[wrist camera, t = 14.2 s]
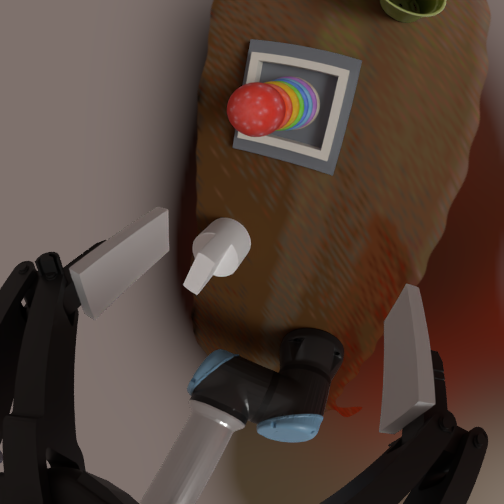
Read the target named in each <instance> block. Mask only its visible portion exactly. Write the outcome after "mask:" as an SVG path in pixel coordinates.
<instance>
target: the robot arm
mask: <svg viewBox="0 0 504 504" xmlns="http://www.w3.org/2000/svg"><path fill="white" fill-rule="evenodd" d="M168 222H169V221H168V209H164V208H161V207H156V208H154V209H153V210H151V211H150V212H148V213H147V214H145V215H144V216H142V217H141V218H139V219H137V220H136V221H134V222H133V223H131V224H130V225H128V226H127V227H125V228H124V229H123V230H121V231H119V232H118V233H116V234H115V235H114V236H112V237H111V238H109V239H108V240H104V241H101V242H99V243H96V244H95V245H93V246H92V247H91V248H89V250H86V251H85V252H84V253H83V254H81V255H80V256H78V257H77V258H76V259H74V260H73V261H72V262H70V263H69V264H68V265H66V266H65V267H64V268H63V267H62V263H61V260H60V257H59V255H58V254H57V253H55V252H48V253H45V254H42V255H41V256H40V257H38V258H37V260H36V261H35V263H36V266H37V269H38V271H37V270H36V269H35V266H34V264H33V262H31V261H24V262H22V263H20V264H18V265H17V266H16V267H15V268H14V270H13V271H12V273H11V274H10V276H9V277H8V278H7V280H6V281H5V283H4V284H3V286H2V287H1V289H0V443H1V441H2V438H3V454H2V452H1V451H0V463H1V462H2V461H3V464H4V472H0V504H196V502H197V500H198V498H199V496H200V495H201V493H202V491H203V489H204V488H205V486H206V484H207V482H208V480H209V478H210V476H211V475H212V473H213V471H214V469H215V467H216V465H217V463H218V461H219V459H220V457H221V455H222V453H223V451H224V450H225V448H226V446H227V443H228V442H229V439H230V437H231V435H232V433H233V432H234V431H236V430H239V429H242V428H244V427H245V425H246V422H247V420H248V421H251V422H253V423H256V424H257V432H258V433H259V434H260V435H263V436H264V437H266V438H269V439H272V440H276V441H282V442H303V441H307V440H310V439H312V438H313V437H314V436H315V435H316V434H317V433H318V430H319V427H320V424H321V422H322V420H323V414H324V410H325V406H326V402H327V397H328V393H329V388H330V383H331V380H332V379H333V377H334V376H335V374H336V372H337V371H338V369H339V367H340V366H341V364H342V361H343V356H344V348H343V345H342V344H341V342H340V341H339V340H338V339H337V338H336V337H334V336H333V335H331V334H329V333H327V332H325V331H322V330H318V329H310V328H304V329H298V330H294V331H292V332H290V333H288V334H287V335H286V336H285V337H284V338H283V341H282V343H281V346H280V371H279V373H278V372H275V371H273V370H270V369H268V368H265V367H263V366H261V365H258V364H256V363H254V362H252V361H249V360H247V359H245V358H243V357H241V356H240V355H238V354H233V353H230V352H228V351H226V350H222V349H219V350H216V351H214V352H212V353H211V354H210V355H209V356H208V357H207V358H206V359H205V360H204V361H203V363H202V364H201V365H200V366H199V368H198V369H197V371H196V372H195V374H194V376H193V378H192V379H191V381H190V383H189V385H188V388H187V391H188V393H189V394H190V395H191V396H192V397H191V399H190V400H189V405H190V408H191V415H190V417H189V418H188V420H187V422H186V424H185V425H184V427H183V429H182V431H181V433H180V435H179V436H178V438H177V440H176V441H175V443H174V445H173V447H172V448H171V450H170V452H169V454H168V456H167V457H166V459H165V461H164V462H163V464H162V466H161V468H160V469H159V471H158V473H157V474H156V476H155V478H154V479H153V481H152V483H151V485H150V486H149V488H148V490H147V491H146V493H145V495H144V496H143V498H142V500H141V501H140V503H138V502H137V501H135V500H134V499H133V498H132V497H131V496H130V495H129V494H127V493H126V492H124V491H123V490H121V489H119V488H118V487H116V486H115V485H113V484H112V483H110V482H109V481H107V480H104V479H102V478H100V477H97V476H95V475H93V474H90V473H88V472H86V471H85V465H84V459H83V455H82V452H81V450H80V448H79V446H78V443H77V440H76V430H75V413H74V363H75V346H76V334H77V323H78V315H79V314H78V309H77V308H78V307H79V306H82V308H83V311H84V313H85V314H86V315H87V316H89V317H90V318H92V319H93V320H96V319H97V318H98V317H99V316H100V315H101V314H102V313H103V312H104V311H105V310H106V309H107V308H108V307H109V306H110V305H111V304H112V303H113V302H114V301H115V300H116V299H117V298H118V297H119V296H120V295H121V294H123V292H125V291H126V290H127V289H128V288H129V287H130V286H131V285H132V284H133V283H134V282H135V281H136V280H137V279H138V278H140V277H141V275H143V274H144V273H145V272H146V271H147V270H148V269H149V268H150V267H152V266H153V265H154V264H155V263H156V262H157V261H158V260H159V259H160V258H162V257H163V256H164V255H165V254H166V253H167V252H168V251H169V224H168ZM23 298H24V300H25V302H26V305H25V306H24V307H23V305H22V303H21V301H22V299H23ZM443 372H444V369H443V362H442V360H441V358H440V356H439V354H438V352H436V351H432V350H430V343H429V336H428V330H427V325H426V319H425V314H424V309H423V304H422V300H421V295H420V291H419V288H418V287H415V286H412V285H409V284H406V285H405V287H404V289H403V291H402V292H401V294H400V296H399V298H398V299H397V301H396V303H395V304H394V306H393V308H392V309H391V311H390V313H389V314H388V316H387V318H386V319H385V321H384V379H383V396H382V408H381V418H380V427H379V428H380V429H379V432H382V433H389V434H395V433H397V432H399V431H400V430H401V429H403V430H402V437H401V438H399V439H397V440H396V441H394V442H392V443H391V444H389V445H388V446H389V447H390V446H391V447H390V448H389V449H387V450H386V451H385V452H384V453H383V454H382V456H380V457H379V458H378V459H377V460H376V461H375V462H373V463H372V464H371V465H370V466H369V467H368V468H366V469H365V470H364V471H363V472H362V473H361V474H359V475H358V476H357V477H356V478H354V479H353V480H352V481H351V482H349V483H348V484H347V485H345V486H344V487H343V488H341V489H340V490H339V491H337V492H336V493H335V494H333V495H332V496H330V497H329V498H327V499H326V500H324V501H323V502H321V503H320V504H398V503H399V502H400V501H401V500H402V499H403V498H404V497H405V496H406V495H407V494H408V493H409V492H410V493H409V495H408V496H407V498H406V499H405V501H404V503H403V504H466V503H467V501H468V499H469V496H470V494H471V492H472V489H473V487H474V484H475V482H476V479H477V476H478V474H479V471H480V468H481V465H482V462H483V459H484V456H485V453H486V449H487V446H488V437H487V434H486V432H485V431H484V429H482V428H481V427H475V428H473V429H472V430H470V431H469V432H468V431H466V430H464V429H462V428H460V427H458V426H457V423H456V419H455V417H454V415H453V414H452V413H451V412H449V411H448V410H447V398H446V386H445V381H444V380H445V378H444V373H443ZM13 399H14V402H13ZM12 402H13V412H12V413H11V414H9V413H10V409H11V406H12ZM46 460H47V461H48V462H49V464H50V466H51V468H47V464H46Z"/></svg>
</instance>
